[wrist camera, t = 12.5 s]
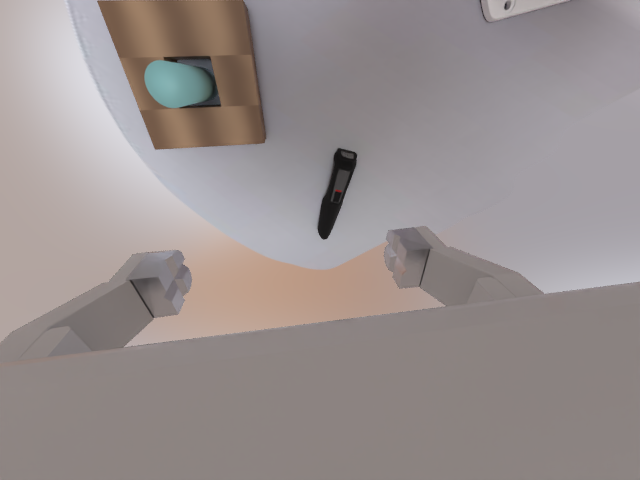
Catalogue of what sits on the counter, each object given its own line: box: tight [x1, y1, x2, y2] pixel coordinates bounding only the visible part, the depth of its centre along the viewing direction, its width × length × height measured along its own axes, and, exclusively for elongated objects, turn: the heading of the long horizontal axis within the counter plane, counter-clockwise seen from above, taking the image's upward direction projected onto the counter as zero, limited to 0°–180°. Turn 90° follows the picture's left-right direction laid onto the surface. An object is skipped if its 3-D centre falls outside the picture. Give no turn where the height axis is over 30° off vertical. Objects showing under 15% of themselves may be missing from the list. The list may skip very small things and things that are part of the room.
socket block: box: [97, 0, 266, 149], centre depth 30 cm, size 14×14×4 cm
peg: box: [144, 60, 218, 108], centre depth 27 cm, size 4×4×12 cm
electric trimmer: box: [318, 148, 357, 239], centre depth 41 cm, size 4×16×3 cm, turn 165°
